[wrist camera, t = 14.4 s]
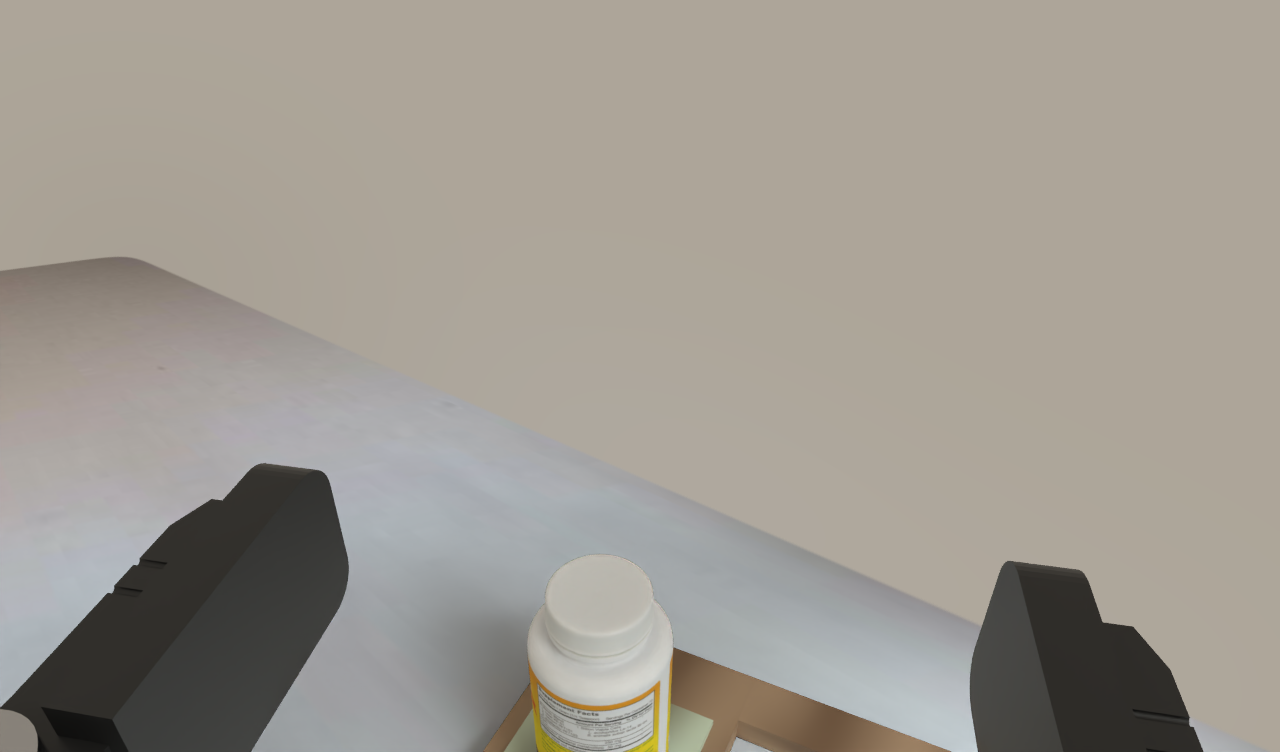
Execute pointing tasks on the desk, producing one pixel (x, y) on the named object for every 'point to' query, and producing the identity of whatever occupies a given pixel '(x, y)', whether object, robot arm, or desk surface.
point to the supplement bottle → (600, 660)
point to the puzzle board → (736, 717)
